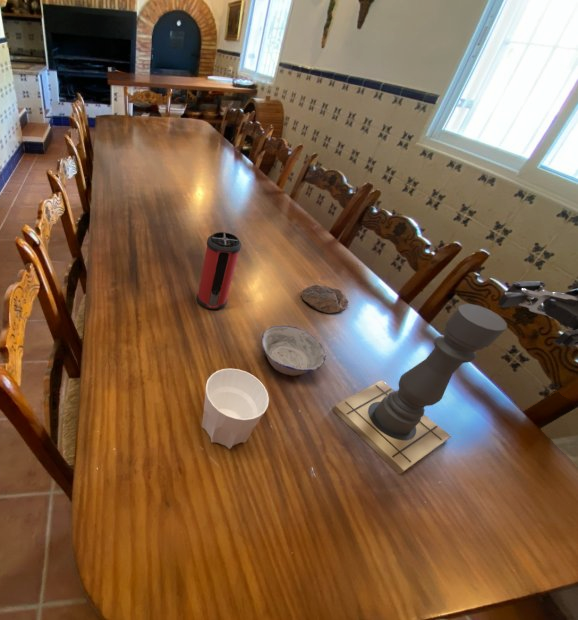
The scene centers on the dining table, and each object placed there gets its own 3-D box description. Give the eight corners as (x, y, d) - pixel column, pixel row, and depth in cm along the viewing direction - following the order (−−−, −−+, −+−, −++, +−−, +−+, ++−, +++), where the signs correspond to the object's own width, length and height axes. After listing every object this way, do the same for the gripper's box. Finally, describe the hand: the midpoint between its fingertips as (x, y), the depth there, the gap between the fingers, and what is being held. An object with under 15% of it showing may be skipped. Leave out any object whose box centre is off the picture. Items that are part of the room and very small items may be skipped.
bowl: (307, 342, 82) (315, 326, 79) (326, 387, 72) (335, 371, 69) (251, 337, 82) (257, 322, 79) (262, 382, 72) (269, 366, 69)
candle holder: (366, 409, 67) (445, 305, 51) (392, 402, 68) (476, 300, 52) (392, 438, 62) (488, 335, 46) (419, 430, 64) (520, 328, 48)
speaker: (196, 308, 89) (208, 244, 77) (196, 290, 95) (207, 228, 83) (227, 312, 88) (243, 248, 77) (225, 293, 94) (240, 232, 83)
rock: (294, 288, 99) (297, 281, 97) (335, 288, 100) (338, 281, 98) (310, 314, 90) (313, 306, 89) (354, 314, 91) (358, 306, 89)
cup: (248, 462, 59) (264, 428, 52) (190, 440, 61) (199, 406, 55) (256, 413, 66) (271, 379, 60) (204, 396, 68) (213, 361, 62)
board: (446, 440, 64) (451, 436, 63) (399, 475, 59) (404, 470, 58) (377, 384, 74) (381, 379, 73) (331, 409, 68) (335, 404, 67)
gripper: (575, 264, 59) (502, 271, 56) (691, 320, 49) (609, 333, 45) (541, 300, 64) (471, 308, 60) (639, 357, 53) (562, 372, 50)
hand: (530, 318), depth 53 cm, fingers open, 8 cm apart
